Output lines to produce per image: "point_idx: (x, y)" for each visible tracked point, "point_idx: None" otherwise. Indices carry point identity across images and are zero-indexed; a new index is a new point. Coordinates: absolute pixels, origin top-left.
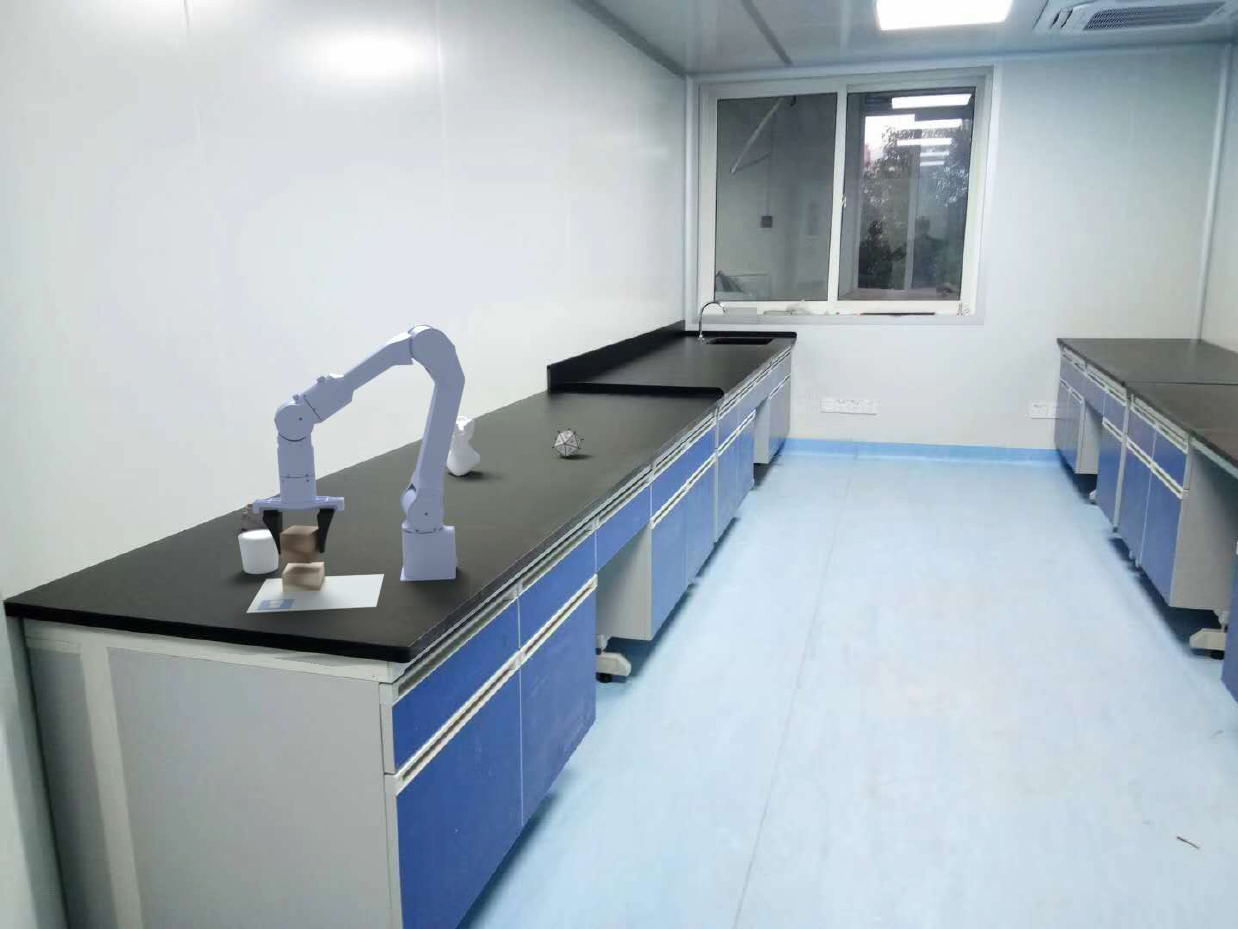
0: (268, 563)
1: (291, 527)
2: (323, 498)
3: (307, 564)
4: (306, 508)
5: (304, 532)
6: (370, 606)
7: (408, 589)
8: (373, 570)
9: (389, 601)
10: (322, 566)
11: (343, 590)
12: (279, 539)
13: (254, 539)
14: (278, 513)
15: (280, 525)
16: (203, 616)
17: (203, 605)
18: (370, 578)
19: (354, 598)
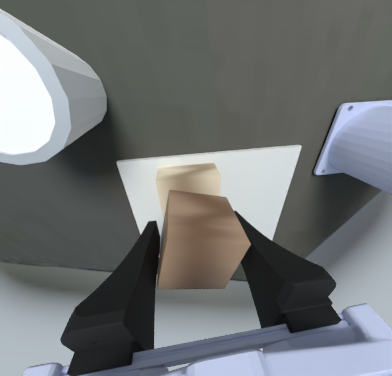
0: (92, 127)
1: (169, 255)
2: (334, 367)
3: (193, 186)
4: (241, 350)
5: (213, 279)
6: None
7: (313, 191)
8: (289, 107)
9: (285, 222)
10: (219, 190)
11: (241, 206)
12: (156, 273)
13: (23, 160)
14: (141, 348)
15: (148, 291)
16: (104, 259)
17: (81, 238)
18: (279, 164)
19: (253, 226)
